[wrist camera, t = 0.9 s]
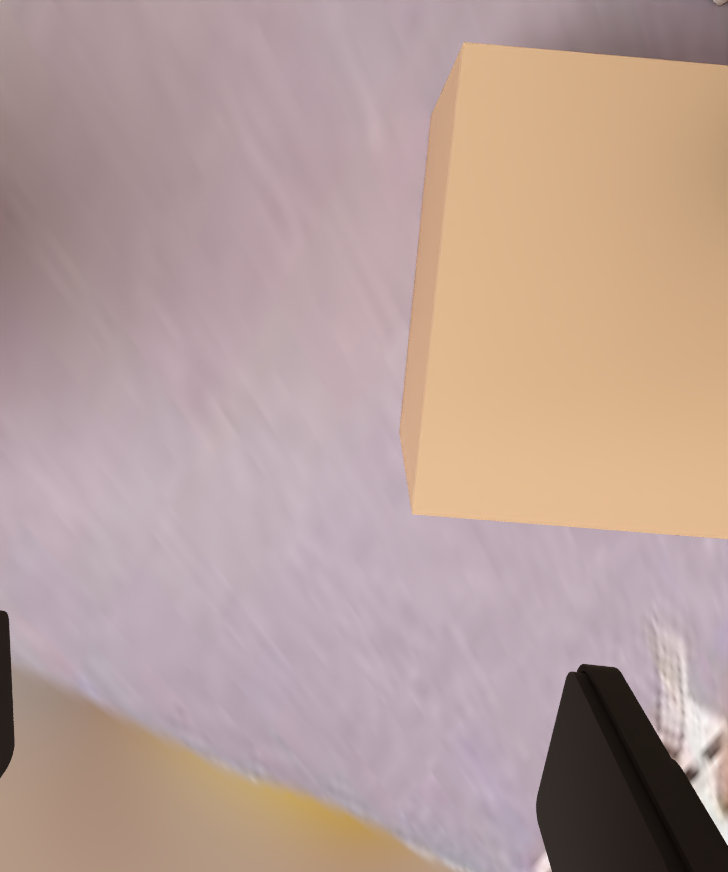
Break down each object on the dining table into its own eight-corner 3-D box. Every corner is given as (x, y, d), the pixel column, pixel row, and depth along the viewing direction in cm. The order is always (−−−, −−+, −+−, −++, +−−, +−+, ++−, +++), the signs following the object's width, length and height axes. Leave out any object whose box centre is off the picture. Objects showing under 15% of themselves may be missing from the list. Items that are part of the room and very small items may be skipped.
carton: (430, 115, 35) (460, 49, 24) (865, 153, 35) (1105, 106, 24) (399, 432, 40) (410, 506, 29) (780, 463, 40) (944, 548, 29)
